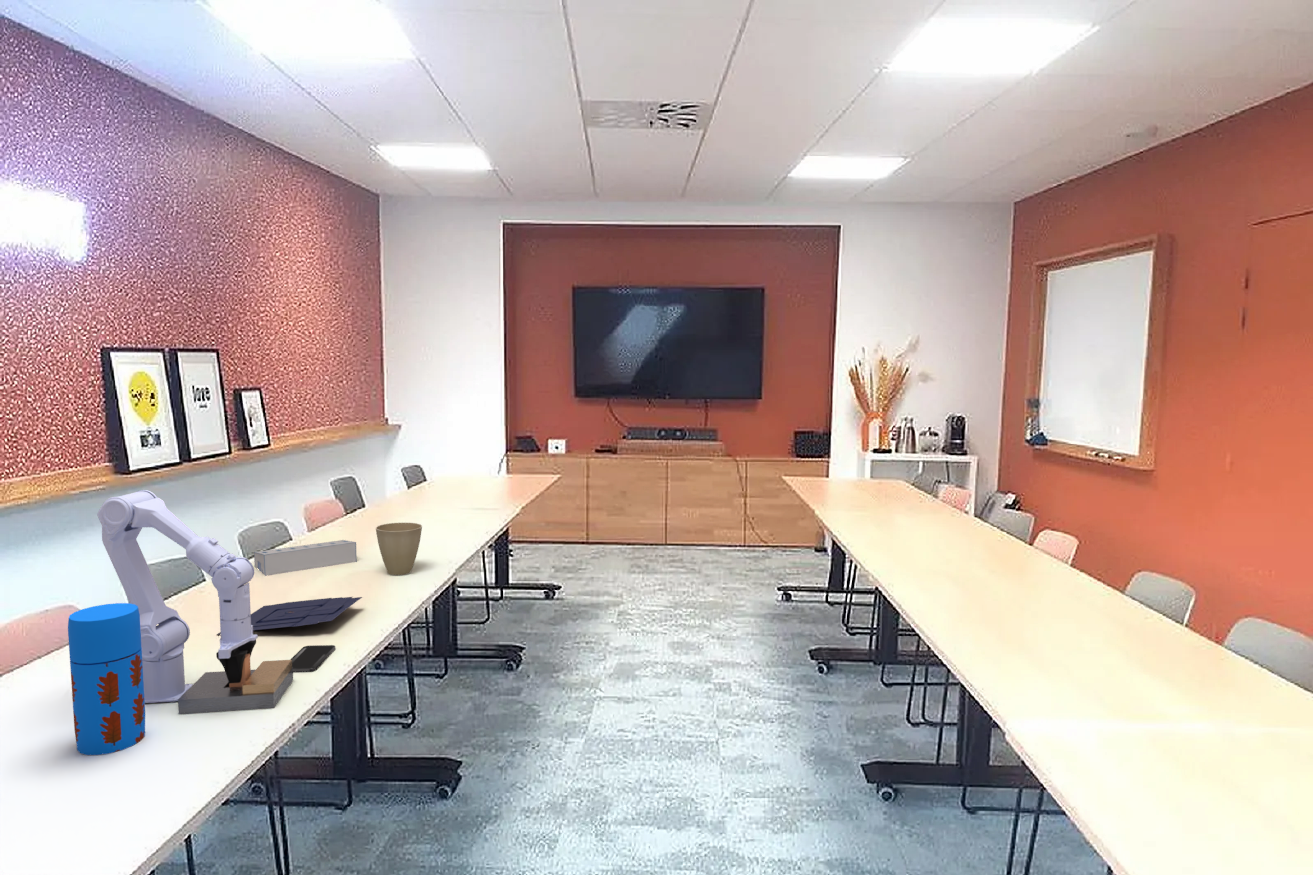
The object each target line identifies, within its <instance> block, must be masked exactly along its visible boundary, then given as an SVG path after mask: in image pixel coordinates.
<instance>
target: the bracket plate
mask: <svg viewBox="0 0 1313 875" xmlns="http://www.w3.org/2000/svg"><path fill="white" fill-rule="evenodd" d="M293 682H294V673H293V667H292V660H290V659H281V660H279V659H277V660H264V661H262V662H261V663H260V664H259V665H258V667H256V668H255V669H251V676H250V677H249V678H248V680H247V681H246V682H245V683H244V684H243V685H242V687H229V681H228V678H227V675H226V672H225V670H223V671H209V672H208V671H207V672H204V673H203V674H202V675H201V676H200V677H199V678H198V679H197V681H195V682H194V683H192V684H193V685H192V686H191V687H190V688H189V689H188V690H187V691H186V692H185V693H184V694H183V695H182V696H181V697H180V698H179V699H178V701H177V705H178V708H177V709H178V711H177V712H178V715H186V714H188V715H189V714H201V713H202V714H203V713H217V712H231V711H232V712H233V711H245V710H247V711H248V710H260V709H261V710H263V709H274V708H275V707H276V706H277V705H278V703H279V701H280V700H281V698H282V697H283V695H284V694H285V693H286V691H287V690H288V689H289V687H290V686H291V684H292V683H293Z"/></svg>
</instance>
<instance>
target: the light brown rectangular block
mask: <svg viewBox="0 0 1313 875" xmlns="http://www.w3.org/2000/svg"><path fill="white" fill-rule="evenodd" d="M251 670H252V668H251V657H250V654H246V656H245V659H244V663H243V670H242V678H241V681H240V683H229V687H242V685H243V684H244V683H245V682H246V681H247V680H248V678H249V677H250V676H251Z"/></svg>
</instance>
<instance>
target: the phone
mask: <svg viewBox="0 0 1313 875" xmlns="http://www.w3.org/2000/svg"><path fill="white" fill-rule="evenodd" d="M335 651H336V645H333V644H331V645H330V644H328V645H327V644H325V645H323V644H322V645H321V644H320V645H317V644H316V645H305V646H303V647H302V648H300V650H299V651H297V653H296V654H294V655H293V657H291V658H290V659H289V660H292V667H293V674H294V673H313V672H316V671H317V670H318V669H319V668H320V667H321V666H322V665H323V664H324V663H325V661H326V660H327V659H328V658H329V657H330V656H331V655H332V654H333V653H334V652H335Z"/></svg>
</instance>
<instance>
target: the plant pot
mask: <svg viewBox="0 0 1313 875" xmlns="http://www.w3.org/2000/svg"><path fill="white" fill-rule="evenodd" d="M422 528H423V525H422V524H420V523H417V522H391V523H384V524H380V525H377V526H376V527H375V532H376V534H375V535H376V538H377V544H378V547H379V552H380V554H381V559H382V561H383V564H384V566H385V570H386V572H387V574H388V575H390V576H405V575H407V574H408V575H410V574H411V572H412V569H413V567H414V565H415V561H416V558H417V554H418V552H419V547H420V542H421V538H422V537H421V536H422Z"/></svg>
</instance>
